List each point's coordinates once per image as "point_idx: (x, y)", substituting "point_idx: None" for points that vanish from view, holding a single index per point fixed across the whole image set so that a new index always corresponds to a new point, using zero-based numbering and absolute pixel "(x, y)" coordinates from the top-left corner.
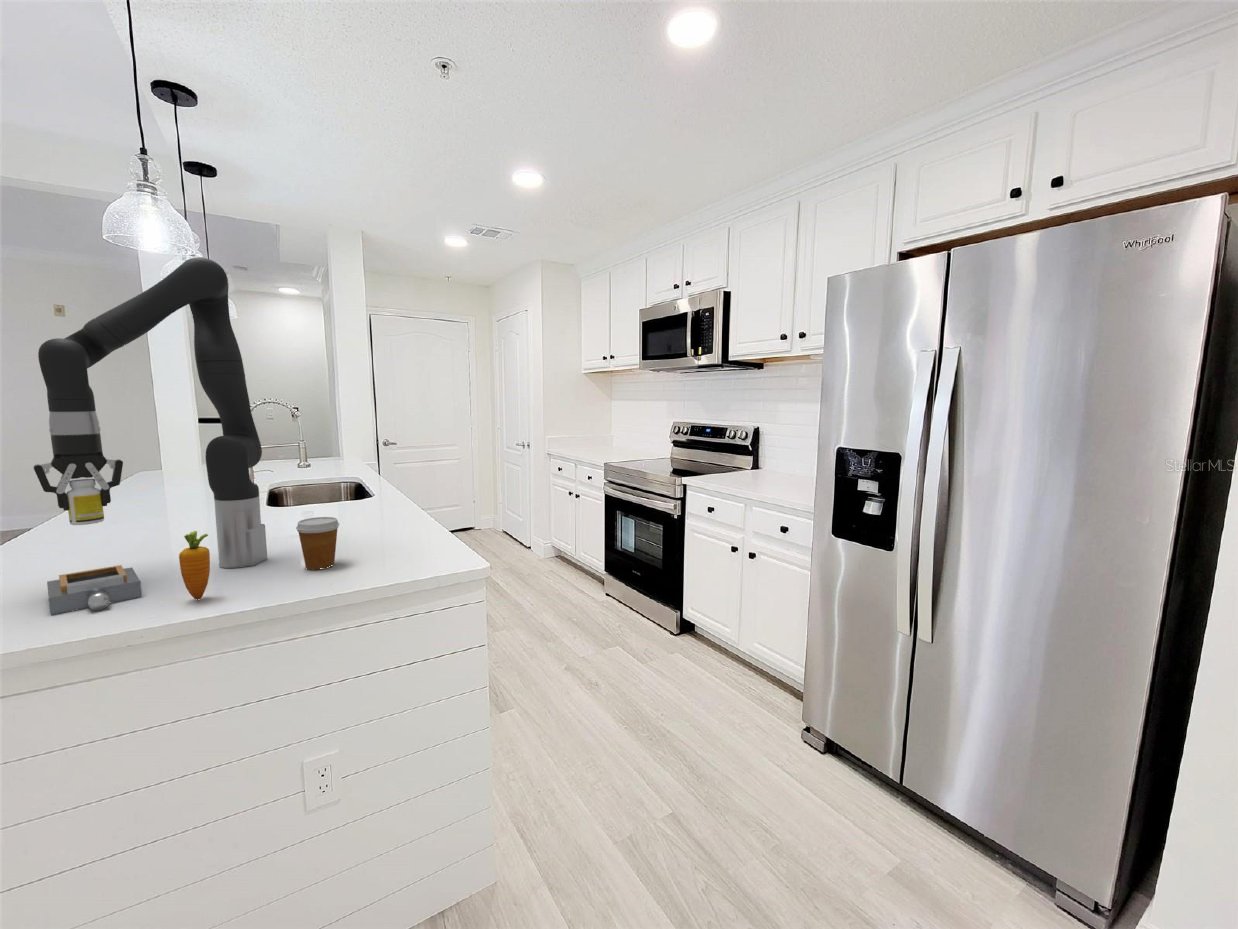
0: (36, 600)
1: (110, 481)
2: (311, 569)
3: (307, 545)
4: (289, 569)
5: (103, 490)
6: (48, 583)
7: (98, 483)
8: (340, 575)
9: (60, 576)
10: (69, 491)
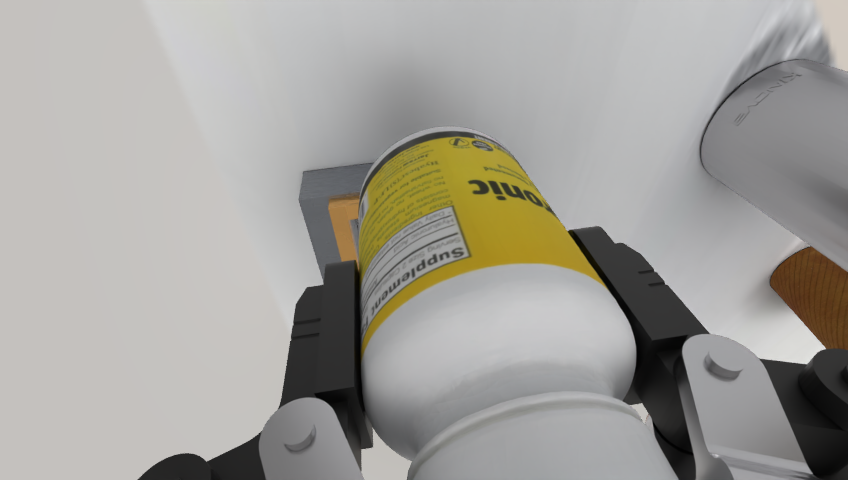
0: (278, 178)
1: (807, 436)
2: (771, 285)
3: (819, 337)
4: (759, 254)
5: (640, 401)
6: (309, 225)
7: (688, 429)
8: (762, 332)
9: (336, 226)
10: (396, 448)
